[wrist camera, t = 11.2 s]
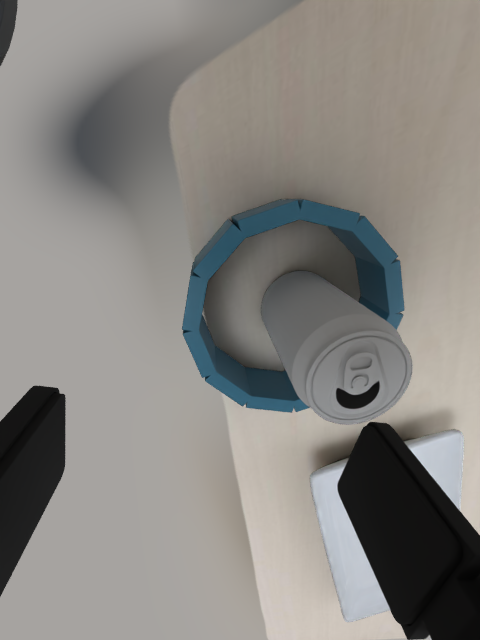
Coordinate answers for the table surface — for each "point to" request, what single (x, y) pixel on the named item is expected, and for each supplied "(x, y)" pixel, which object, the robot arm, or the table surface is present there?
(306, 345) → the beverage can
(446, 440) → the tray
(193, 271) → the ring
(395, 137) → the table surface
